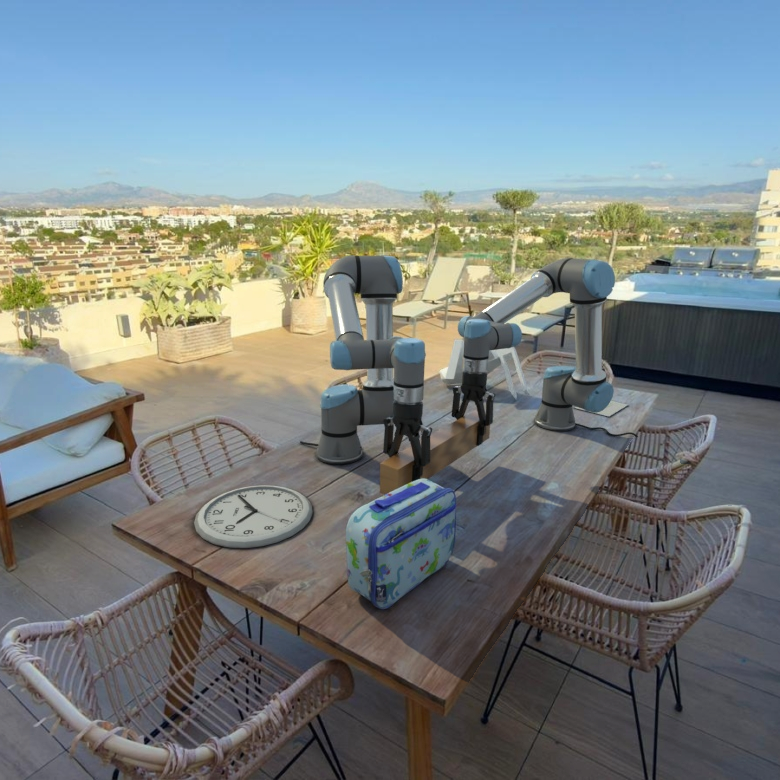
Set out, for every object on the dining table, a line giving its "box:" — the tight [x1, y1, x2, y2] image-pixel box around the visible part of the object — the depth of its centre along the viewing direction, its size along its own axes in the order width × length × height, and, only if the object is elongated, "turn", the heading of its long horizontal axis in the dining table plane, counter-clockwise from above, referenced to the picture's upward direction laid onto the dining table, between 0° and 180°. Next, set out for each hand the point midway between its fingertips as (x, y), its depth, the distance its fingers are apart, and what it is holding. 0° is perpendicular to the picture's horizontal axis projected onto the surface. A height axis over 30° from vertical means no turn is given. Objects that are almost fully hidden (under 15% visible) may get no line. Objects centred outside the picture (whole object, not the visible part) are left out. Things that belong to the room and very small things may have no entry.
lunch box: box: [345, 478, 457, 610], centre depth 110 cm, size 26×11×21 cm, turn 134°
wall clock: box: [193, 484, 313, 549], centre depth 137 cm, size 30×2×30 cm
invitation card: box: [573, 400, 629, 418], centre depth 226 cm, size 21×1×15 cm
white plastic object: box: [438, 338, 531, 400], centre depth 245 cm, size 37×45×31 cm
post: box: [379, 409, 491, 495], centre depth 151 cm, size 50×6×8 cm, turn 143°
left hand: (405, 483), depth 138 cm, fingers closed on post, 6 cm apart
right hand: (470, 441), depth 165 cm, fingers closed on post, 6 cm apart
